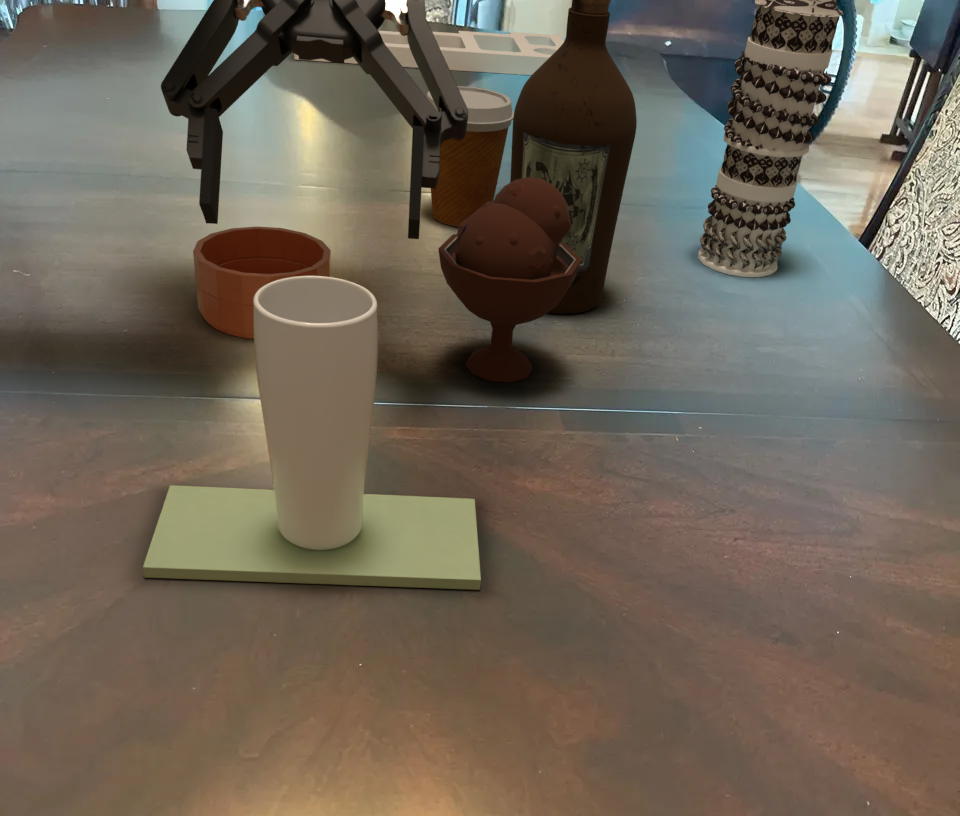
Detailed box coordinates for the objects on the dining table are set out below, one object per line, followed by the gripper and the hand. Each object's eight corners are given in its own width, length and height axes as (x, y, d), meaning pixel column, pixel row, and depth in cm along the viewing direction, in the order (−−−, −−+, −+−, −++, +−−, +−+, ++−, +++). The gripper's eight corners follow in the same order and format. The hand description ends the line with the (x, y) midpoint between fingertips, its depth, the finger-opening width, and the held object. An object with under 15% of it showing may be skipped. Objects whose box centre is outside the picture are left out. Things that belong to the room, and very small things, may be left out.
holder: (293, 59, 163) (293, 39, 161) (296, 34, 177) (295, 16, 175) (577, 78, 169) (579, 59, 167) (558, 52, 183) (560, 35, 181)
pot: (190, 337, 87) (183, 271, 83) (210, 284, 95) (205, 222, 92) (326, 344, 88) (325, 280, 84) (334, 291, 96) (333, 231, 93)
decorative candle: (684, 266, 109) (743, -14, 93) (703, 239, 115) (761, -26, 99) (772, 285, 107) (848, 2, 90) (786, 257, 113) (859, -12, 97)
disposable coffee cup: (488, 239, 110) (499, 115, 102) (404, 222, 112) (408, 99, 104) (515, 212, 117) (527, 95, 109) (435, 197, 119) (441, 80, 111)
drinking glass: (345, 573, 63) (345, 336, 53) (244, 543, 64) (227, 307, 55) (391, 516, 68) (399, 290, 58) (297, 490, 69) (289, 265, 60)
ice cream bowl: (481, 327, 93) (496, 148, 83) (588, 368, 89) (617, 183, 79) (406, 366, 86) (414, 175, 77) (519, 411, 82) (542, 215, 72)
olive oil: (509, 266, 105) (539, -27, 89) (614, 283, 104) (663, -11, 87) (486, 306, 97) (514, -8, 81) (599, 325, 95) (650, 11, 79)
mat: (144, 577, 62) (142, 567, 62) (171, 495, 69) (169, 484, 69) (480, 590, 64) (481, 579, 63) (473, 508, 71) (474, 498, 70)
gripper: (127, -141, 67) (105, 177, 65) (514, -101, 69) (503, 209, 68) (153, -55, 75) (134, 233, 73) (502, -21, 77) (492, 260, 75)
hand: (312, 222), depth 70 cm, fingers open, 13 cm apart
